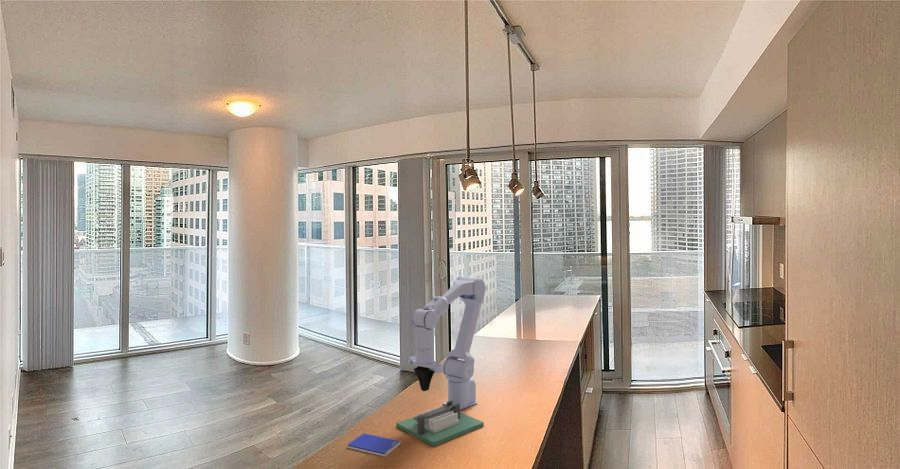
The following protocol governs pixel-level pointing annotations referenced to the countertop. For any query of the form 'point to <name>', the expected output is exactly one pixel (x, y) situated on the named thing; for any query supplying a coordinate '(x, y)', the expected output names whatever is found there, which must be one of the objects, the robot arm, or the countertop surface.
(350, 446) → the hard drive
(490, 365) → the countertop surface
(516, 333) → the countertop surface
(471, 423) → the heatsink board
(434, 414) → the long grey plank
